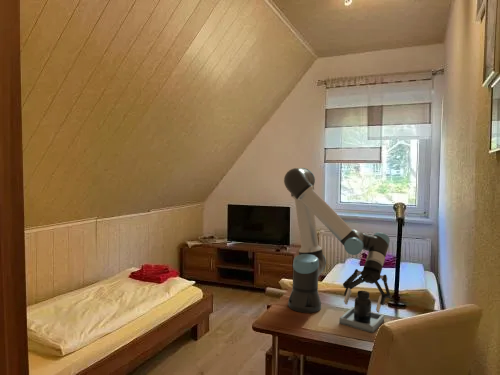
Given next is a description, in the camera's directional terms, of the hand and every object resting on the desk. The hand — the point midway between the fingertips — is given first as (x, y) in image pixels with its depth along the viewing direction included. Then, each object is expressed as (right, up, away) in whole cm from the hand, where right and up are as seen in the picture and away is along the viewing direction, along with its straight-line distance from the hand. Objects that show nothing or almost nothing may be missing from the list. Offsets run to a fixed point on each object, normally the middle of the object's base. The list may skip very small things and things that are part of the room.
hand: (361, 307), depth 154 cm
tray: (+1, -7, +2) cm, 8 cm away
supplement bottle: (+1, -6, +2) cm, 7 cm away
